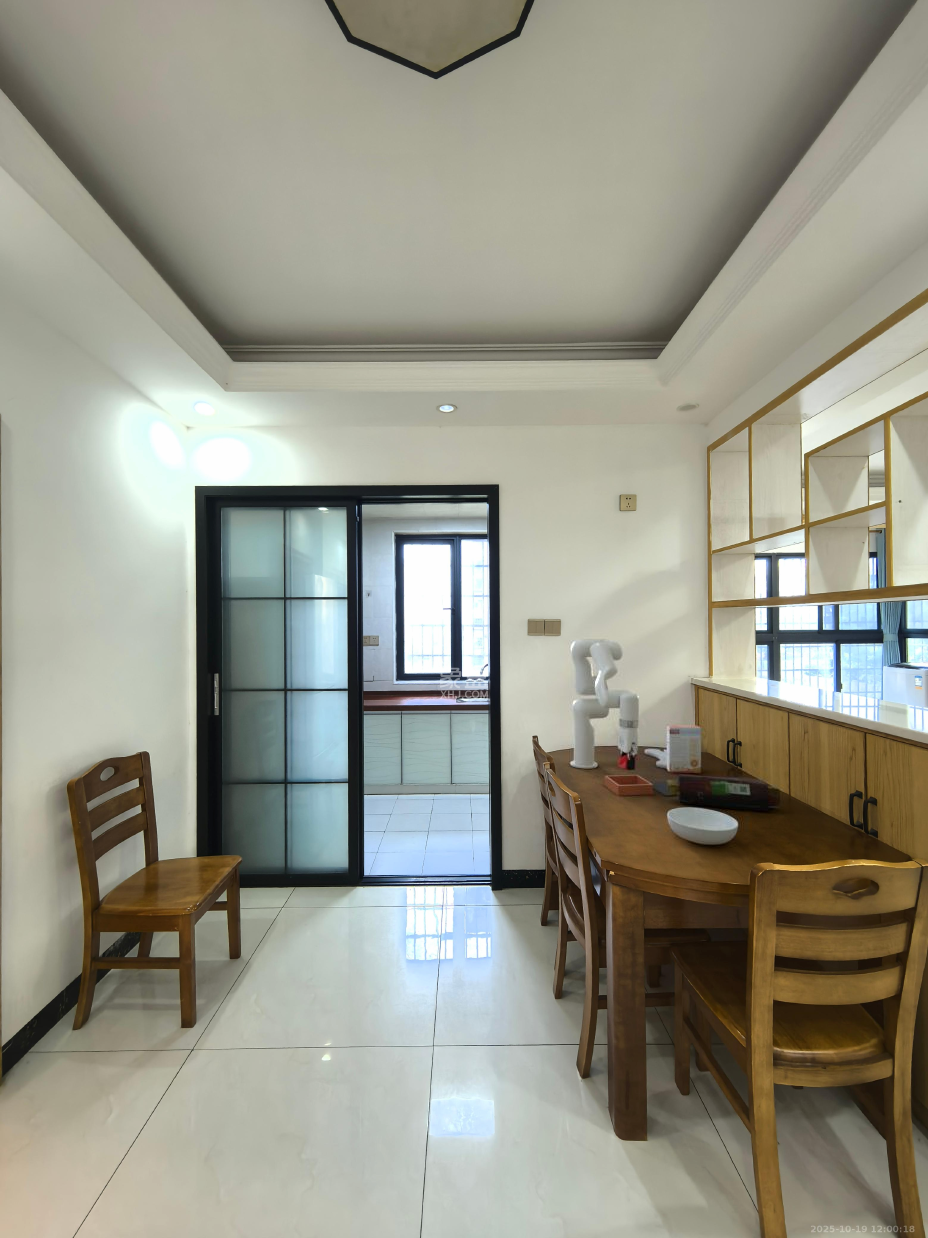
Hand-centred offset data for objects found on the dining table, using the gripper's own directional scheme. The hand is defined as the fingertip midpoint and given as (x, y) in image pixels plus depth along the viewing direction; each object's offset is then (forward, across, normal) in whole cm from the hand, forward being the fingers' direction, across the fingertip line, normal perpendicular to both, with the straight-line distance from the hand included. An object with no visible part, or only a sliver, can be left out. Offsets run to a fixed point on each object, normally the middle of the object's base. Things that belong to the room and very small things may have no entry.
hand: (627, 767), depth 241 cm
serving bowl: (+8, +55, +1) cm, 55 cm away
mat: (+9, +2, +18) cm, 20 cm away
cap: (+1, 0, 0) cm, 1 cm away
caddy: (+9, +1, 0) cm, 9 cm away
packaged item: (+8, +24, +27) cm, 37 cm away
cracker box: (+10, -23, +37) cm, 45 cm away
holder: (+10, -43, +41) cm, 60 cm away
